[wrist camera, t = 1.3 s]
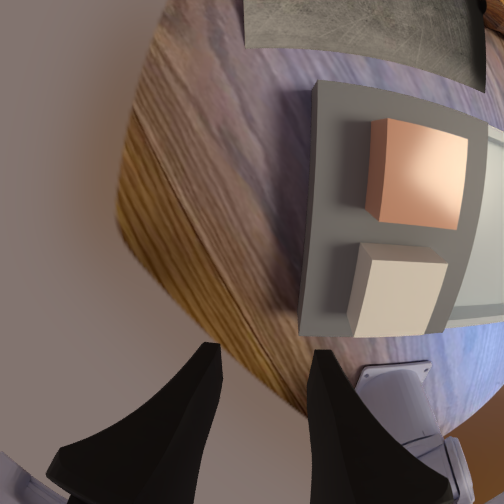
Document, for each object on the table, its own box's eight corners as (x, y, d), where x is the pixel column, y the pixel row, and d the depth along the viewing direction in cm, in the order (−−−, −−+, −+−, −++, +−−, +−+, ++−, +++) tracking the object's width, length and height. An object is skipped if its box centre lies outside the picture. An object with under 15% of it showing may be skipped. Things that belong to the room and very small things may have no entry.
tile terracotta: (435, 217, 14) (456, 229, 12) (364, 209, 14) (378, 221, 12) (444, 137, 12) (467, 139, 10) (371, 121, 13) (387, 118, 10)
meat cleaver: (245, 62, 15) (236, 42, 11) (244, -49, 10) (237, -77, 7) (559, 145, 12) (582, 151, 8) (547, 55, 7) (569, 53, 4)
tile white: (410, 313, 17) (423, 334, 14) (346, 313, 17) (353, 337, 15) (429, 247, 15) (448, 263, 12) (360, 242, 15) (372, 259, 13)
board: (429, 311, 20) (442, 332, 17) (297, 311, 21) (298, 335, 18) (464, 122, 14) (488, 122, 11) (311, 89, 15) (317, 79, 12)
